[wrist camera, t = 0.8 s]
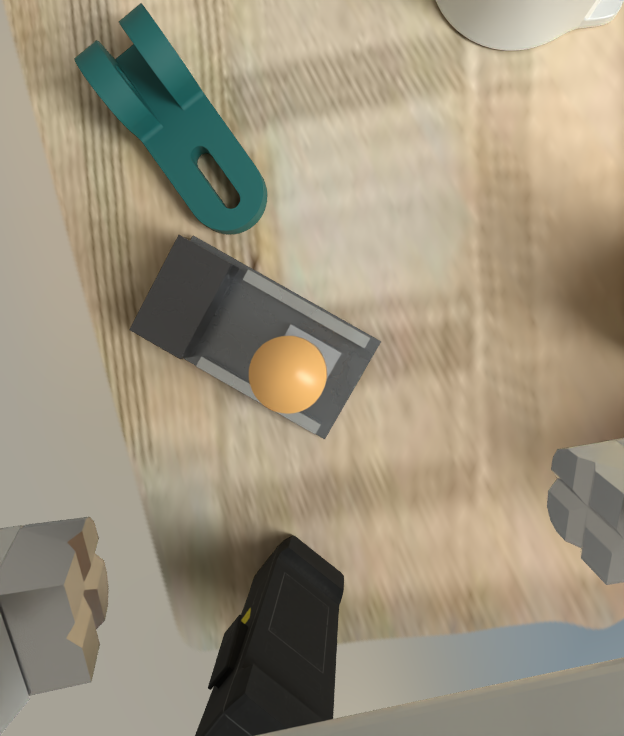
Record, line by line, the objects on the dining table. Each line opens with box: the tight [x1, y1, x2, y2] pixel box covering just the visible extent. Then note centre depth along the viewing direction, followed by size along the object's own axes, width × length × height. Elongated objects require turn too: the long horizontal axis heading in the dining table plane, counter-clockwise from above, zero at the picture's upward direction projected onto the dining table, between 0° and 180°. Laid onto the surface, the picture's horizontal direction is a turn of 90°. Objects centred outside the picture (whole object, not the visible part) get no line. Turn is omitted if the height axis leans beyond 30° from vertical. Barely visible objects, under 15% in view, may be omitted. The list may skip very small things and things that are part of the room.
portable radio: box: [195, 536, 344, 736], centre depth 39 cm, size 8×6×25 cm
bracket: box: [75, 3, 267, 234], centre depth 45 cm, size 18×7×8 cm, turn 36°
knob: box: [249, 324, 342, 414], centre depth 42 cm, size 5×5×12 cm
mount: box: [129, 235, 381, 439], centre depth 48 cm, size 19×10×5 cm, turn 61°
